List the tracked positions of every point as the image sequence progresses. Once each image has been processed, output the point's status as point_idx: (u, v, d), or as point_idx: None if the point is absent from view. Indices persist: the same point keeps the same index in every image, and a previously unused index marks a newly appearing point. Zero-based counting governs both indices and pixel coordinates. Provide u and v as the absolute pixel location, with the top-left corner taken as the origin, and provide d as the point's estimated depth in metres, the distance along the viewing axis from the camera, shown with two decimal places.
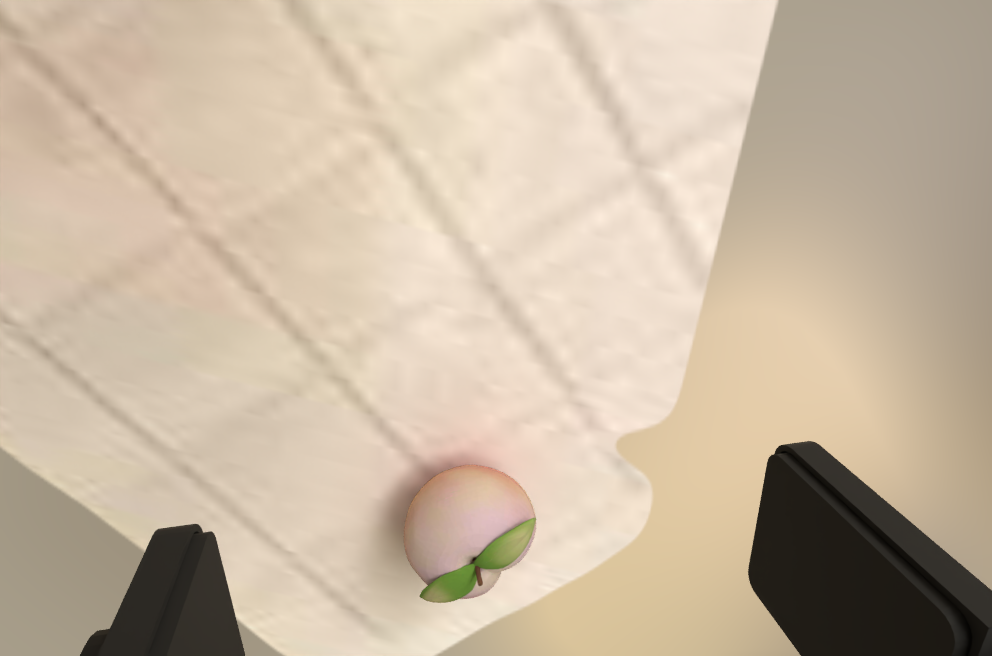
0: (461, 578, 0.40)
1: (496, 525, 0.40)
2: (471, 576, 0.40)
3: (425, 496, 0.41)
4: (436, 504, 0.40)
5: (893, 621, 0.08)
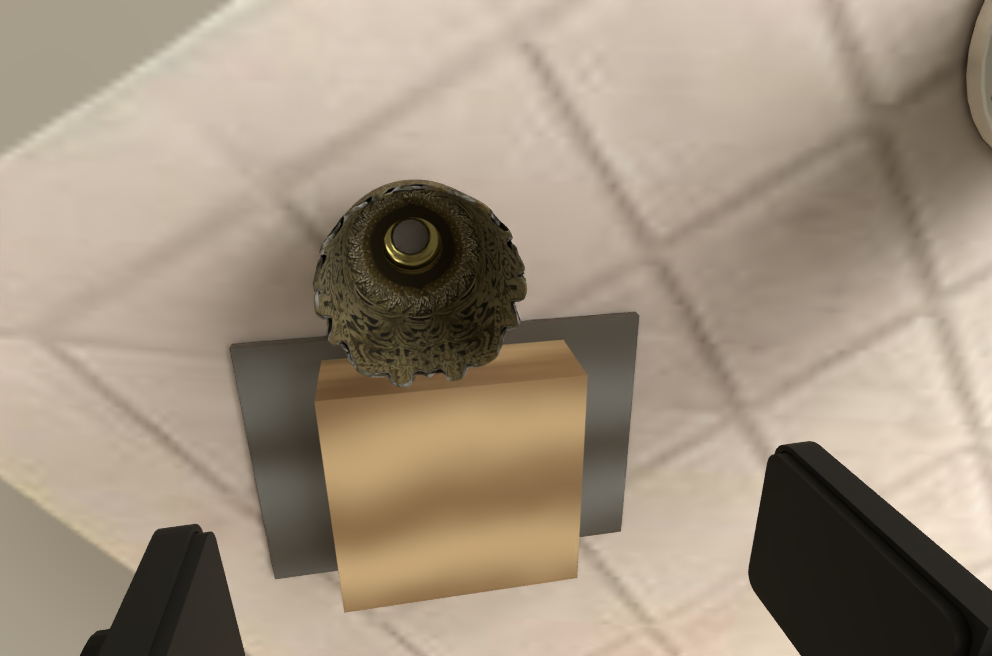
0: None
1: None
2: None
3: None
4: None
5: (893, 621, 0.08)
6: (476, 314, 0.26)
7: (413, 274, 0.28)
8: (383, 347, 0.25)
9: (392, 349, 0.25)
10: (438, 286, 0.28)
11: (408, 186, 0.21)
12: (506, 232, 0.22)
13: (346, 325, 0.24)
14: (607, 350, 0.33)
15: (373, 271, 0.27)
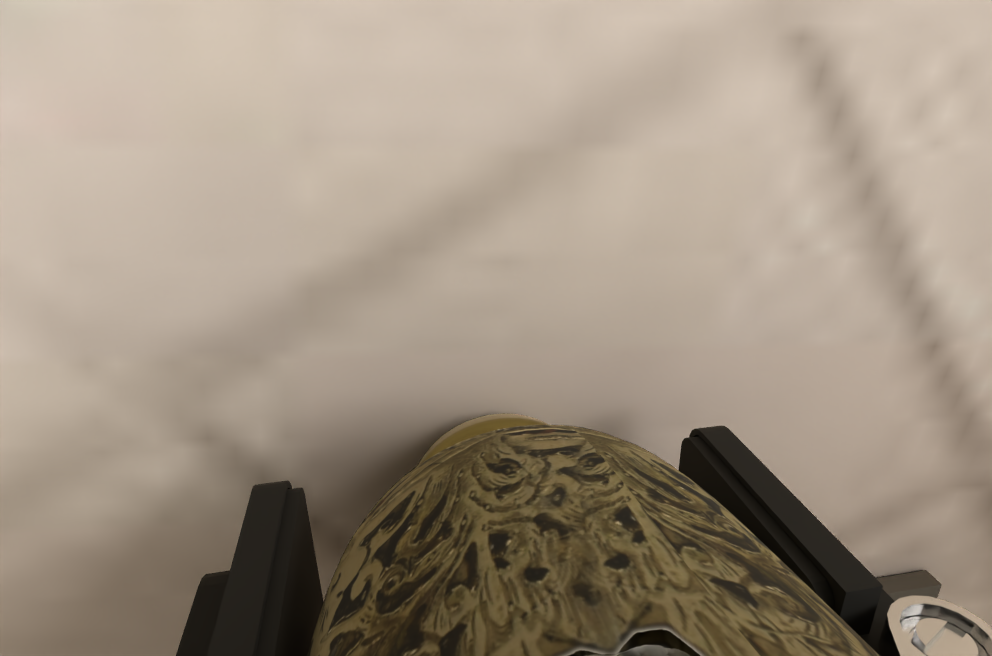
0: None
1: None
2: None
3: None
4: None
5: None
6: None
7: None
8: None
9: None
10: None
11: (617, 652, 0.05)
12: None
13: None
14: None
15: None
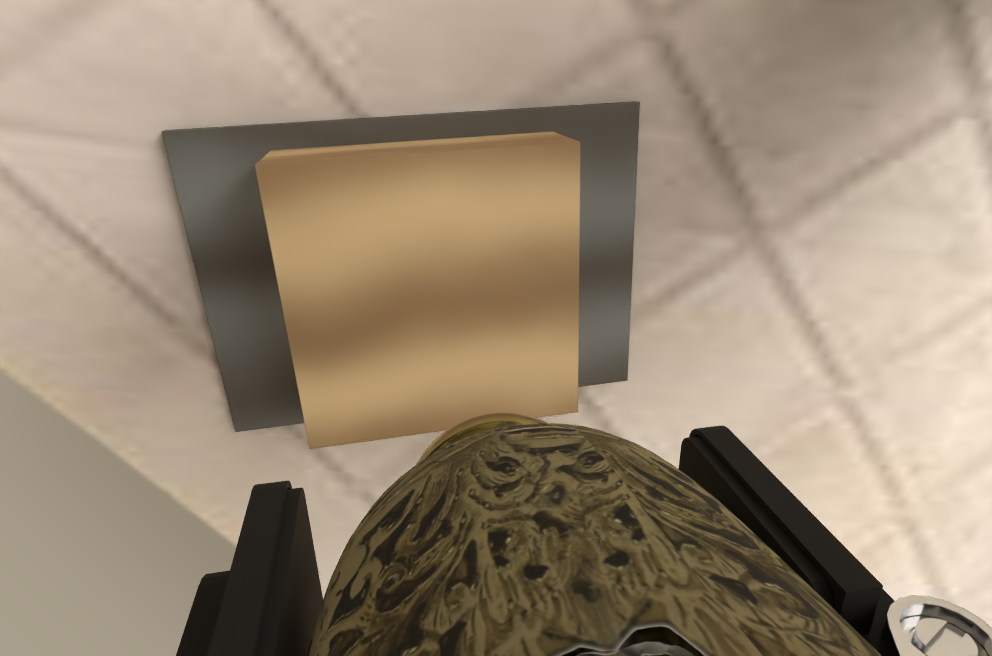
0: None
1: None
2: None
3: None
4: None
5: None
6: None
7: None
8: None
9: None
10: None
11: (617, 649, 0.05)
12: None
13: None
14: (604, 147, 0.28)
15: None
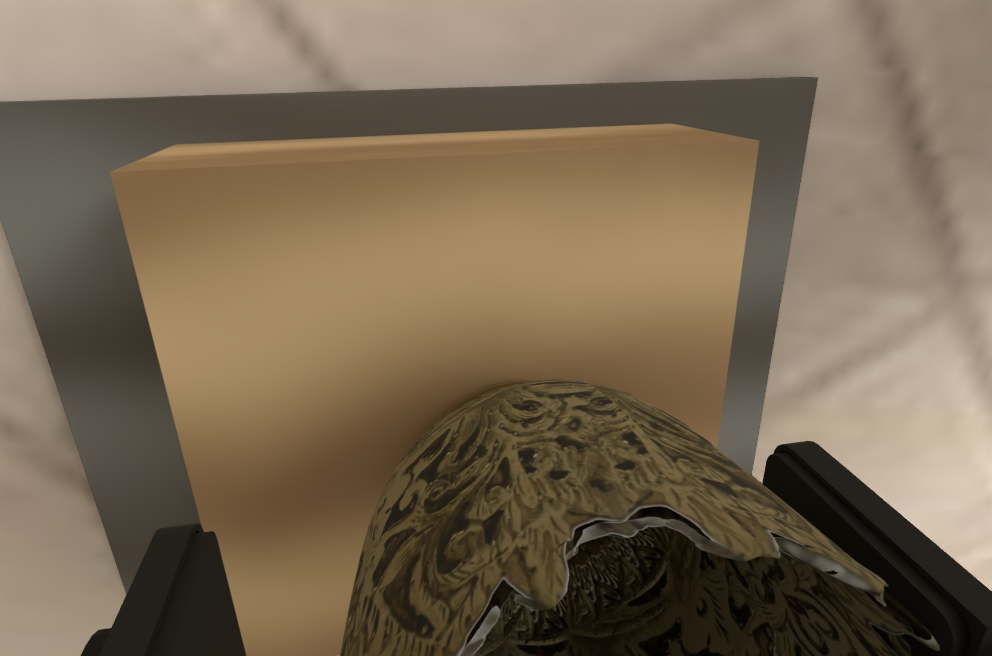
0: None
1: None
2: None
3: None
4: None
5: None
6: None
7: None
8: None
9: None
10: (575, 560, 0.13)
11: (626, 521, 0.06)
12: (918, 638, 0.07)
13: None
14: None
15: None
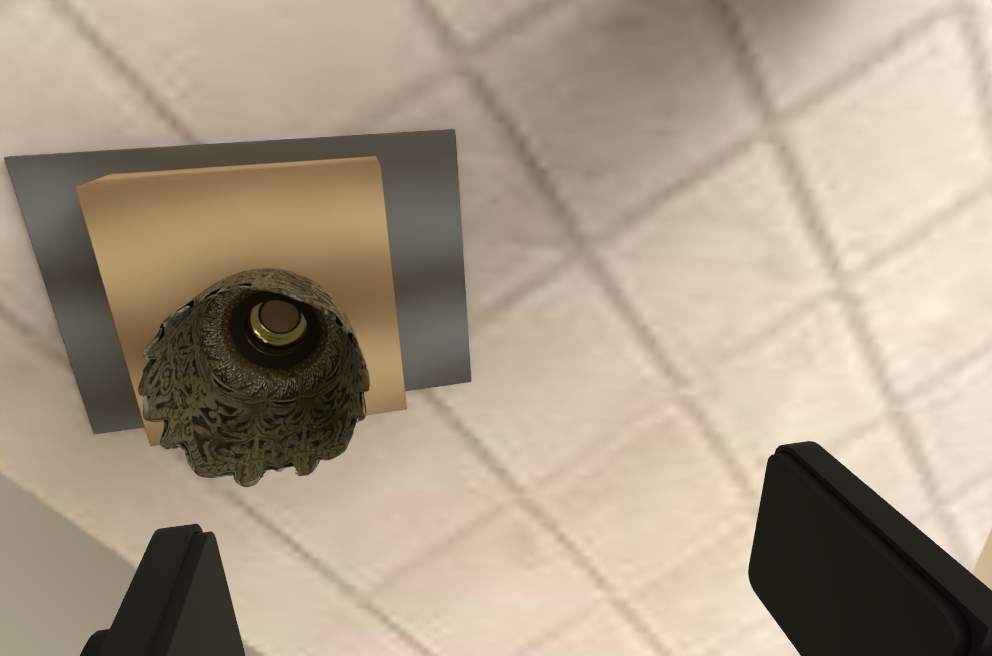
0: None
1: None
2: None
3: None
4: None
5: (893, 621, 0.08)
6: (336, 399, 0.25)
7: (279, 355, 0.27)
8: (236, 440, 0.24)
9: (246, 441, 0.24)
10: (306, 366, 0.28)
11: (235, 286, 0.21)
12: (341, 327, 0.21)
13: (191, 422, 0.23)
14: (426, 169, 0.32)
15: (235, 356, 0.27)
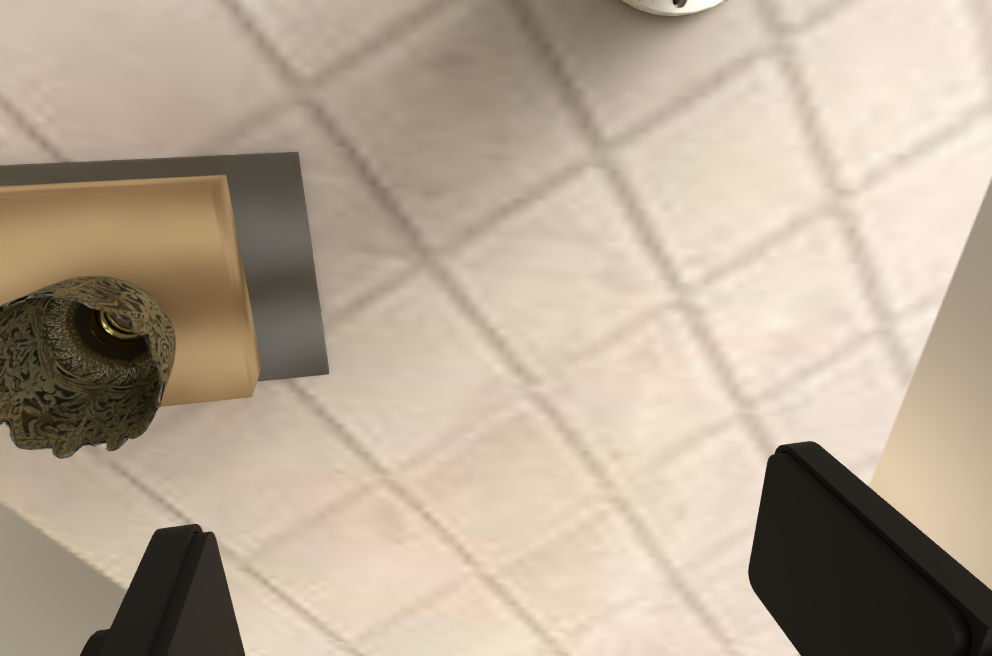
0: None
1: None
2: None
3: None
4: None
5: (892, 621, 0.08)
6: (157, 387, 0.30)
7: (122, 348, 0.32)
8: (65, 419, 0.29)
9: (74, 420, 0.29)
10: (144, 358, 0.32)
11: (40, 294, 0.25)
12: (131, 330, 0.26)
13: (22, 403, 0.28)
14: (273, 187, 0.36)
15: (81, 347, 0.31)
